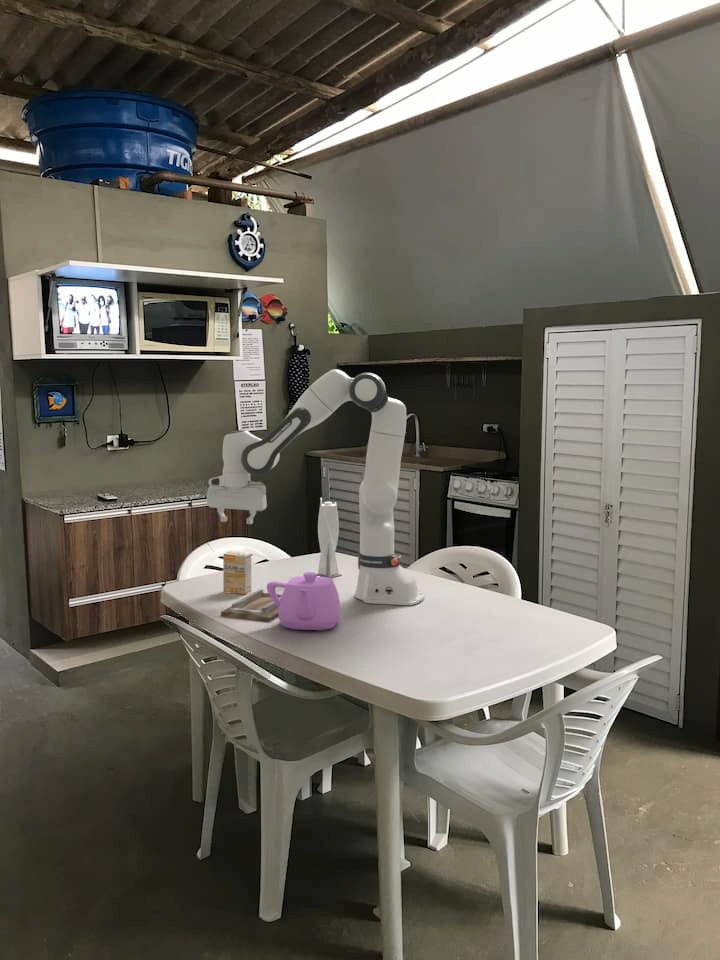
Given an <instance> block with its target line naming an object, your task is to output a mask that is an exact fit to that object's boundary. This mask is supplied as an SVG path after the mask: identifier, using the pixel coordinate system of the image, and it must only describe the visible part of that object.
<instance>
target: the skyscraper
mask: <svg viewBox="0 0 720 960" xmlns="http://www.w3.org/2000/svg"><path fill="white" fill-rule="evenodd" d="M319 499H320V503H319V512H318V521H317V535H318V536H317V537H318V542H319V545H318V546H319V549H320V557H319V564H318V570H317V573H316V574H317V575H316V577H317V576H320V577H327V578H331V579H335V578H338V576H339V577H342V576H343V575H342V574H341V573H339V568H338V562H337V561H338V560H337V557H336V556H337V555H336V549H337V546H338V541H339V540H338V539H339V532H340V521H339V513H338V504H337V502H336V501H334V503H333V502H332V501H324V503H323V498H322V497H320V498H319ZM334 577H335V578H334Z"/></svg>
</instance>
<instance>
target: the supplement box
mask: <svg viewBox="0 0 720 960" xmlns="http://www.w3.org/2000/svg"><path fill="white" fill-rule="evenodd" d="M222 555H223V556H222V557H223V561H222V563H223V569H222V570H223V571H222V573H223V592H222V593H225V592H230V593H229V594H235V593H240V594H239V595H244V594H246V595H248V594H249V593H251V592H252V556H253V555H252V553H251V552H240V551H239V552H238V551H232V550H231V551H230V550H229V551H226V552H224V553H223V554H222ZM250 591H251V592H250ZM248 592H249V593H248ZM247 593H248V594H247Z"/></svg>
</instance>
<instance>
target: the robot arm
mask: <svg viewBox="0 0 720 960" xmlns="http://www.w3.org/2000/svg"><path fill="white" fill-rule="evenodd" d="M386 390H387V389H386V384H385V382H384V381H383V380H382V378H381V377H380V376H379V375H377V374H375V373H372V372H362V373H359V374H357V375H356V376H355V377H351V376H349V375H348V374H347V373H346V372H345V371H343V370H341V369H337V368H334V369H331V370H329V371H328V372H326V373H324V374H323V375H321V376H320V377H319V378H318V379H316V380H315V381H314V382H313V383H312V384H311V385H310V386H309V387H308V388H307V389H306V390H305V391H304V392H303V393H301V395H300V397H299V398H298V399H297V401H296V402H295V404H294V405H293V406H292V407H291V409H290V411H289V413H288V414H287V415H286V417H284V419H283V420H282V421H281V422H280V423H279V424H278V425H277V426H276V427H275V428H274V429H273V430H271V431H270V432H269V434H267V435H266V436H265V437H264V438H259V437H258V436H256V435H254V434H252V433H251V432H250V431H249V430H247V429H239V430H234V431H230V432H227V433H226V434H225V435H224V437H223V440H222V441H223V442H222V460H223V468H222V474H221V475H218V476H215V477H212V478H209V479H208V485H209V487H208V489H207V492H206V493H207V494H206V504H207V506H208V507H209V508H214V509H215V508H216V510H217V513H218V515H219V516H220V522H222V523H226V522H227V521H228V515H226V514H225V513H224V511H225V509H228V510H238V511H239V510H241V511H243V510H244V511H249V514H250V515H249V517H247V518H246V524H247V525H252V524H254V518H255V516H256V515H257V512H262V511H264V510H266V508H267V507H268V503H267V495H266V494H267V487H266V485H265V484H264V483H263V482H262V481H253V480H251V476H256V477H259V476H264V475H266V474H267V473H268V472H270V470H272V469H274V467H275V466H277V464H278V463H279V462H280V458H281V453H280V452H282V451H283V449H285V448H286V447H287V446H288V445H289V444H290V443H291V442H292V441H293V440H294V439H295V438H296V437H297V436H299V435H300V434H301V433H302V434H303V432H306V431H307V430H309V429H311V428H314V427H315V426H316V427H317V426H318V425H319V424H321V423H322V422H324V421H325V420H326V419H327V418H329V417H330V416H331V415H332V414H334V412H335V411H336V410H338V408H339V407H341V406H342V405H343V404H344V403H347V402H349V401H350V402H353V403H354V404H355V405H357V406H358V407H360V408H363V409H365V410H367V411H368V412H370V413H371V425H370V431H369V438H368V442H367V449H366V457H365V466H364V467H365V468H364V469H365V470H364V476H363V480H362V481H361V482H360V485H359V490H358V495H359V497H358V501H359V507H358V508H359V552H358V556H357V566H358V577H357V585H356V589H355V592H354V597H355V598H357V599H358V600H360V601H362V602H363V603H365V604H375V605H377V604H378V605H397V606H414V604H415V605H418V604H419V602H420V601H421V602H423V601H424V599H425V593H424V592H422V591H418V584H417V583H418V582H417V580H416V578H415V576H414V575H413V574H411V573H410V572H408V571H407V569H405V568H404V567H403V566H402V565H401V557H402V555H398V554H397V553H395V520H394V518H395V517H394V507H395V505H396V503H397V500H398V492H399V485H400V475H401V474H400V473H401V460H402V455H403V454H402V453H403V451H404V450H403V449H404V443H405V436H406V432H407V431H406V428H407V407H406V405H405V404H404V402H402V401H401V400H398V399H396V398H392V397H389V395H388V393H387V391H386ZM421 602H420V603H421ZM417 603H418V604H417Z"/></svg>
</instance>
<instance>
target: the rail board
mask: <svg viewBox="0 0 720 960" xmlns="http://www.w3.org/2000/svg"><path fill="white" fill-rule="evenodd" d="M276 594H277V596H278V598H279V600H280V601H281V597H282V594H283V593H280V592H279V593H278V592H276ZM220 616H222V617H229V618H235V619H236V618H237V619H244V620H253V621H261V622H269V623H272V621H274V620H275V619H277V618H279V607H278V606H277V604H276V603H275V602H274V601H273V599H272V598H271V596H270V595H269V593H268V591H267V592H266V591H264V590H263V589H257V590H256V591H254V592H252V593H250V594H249V595H248V594H247V596H244V597H243V598H241V599H239V600H237V601H236V602H234V603H232V604H231V605H230V606H229V607H227V608H225V609H223V610H222V611H220Z"/></svg>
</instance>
